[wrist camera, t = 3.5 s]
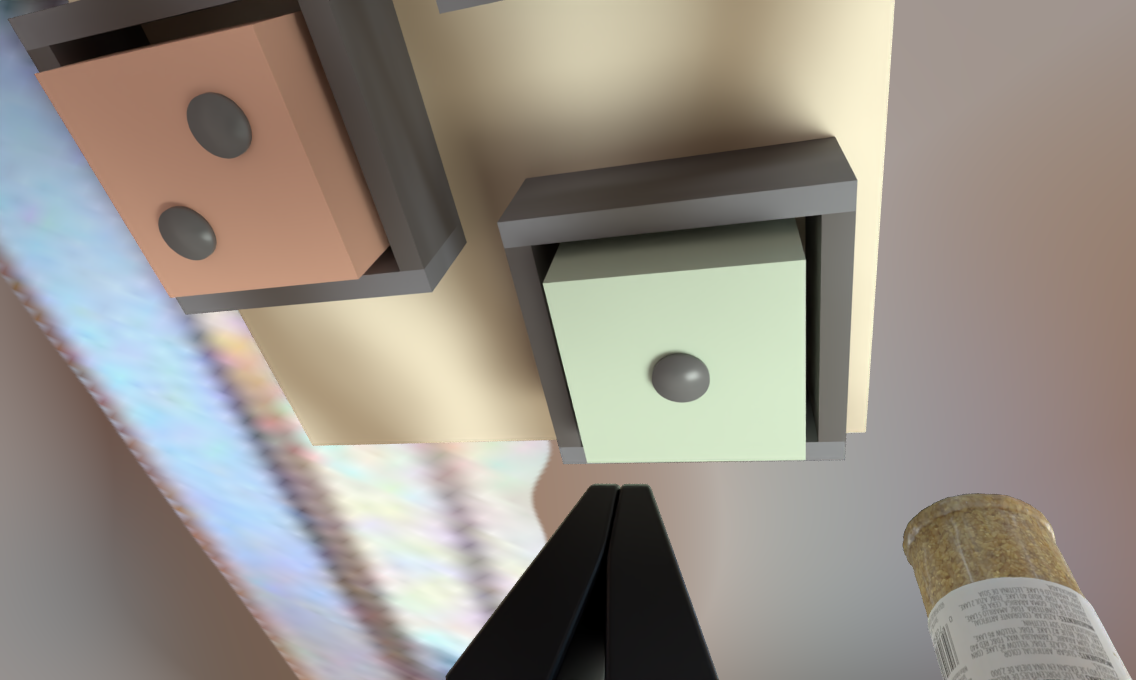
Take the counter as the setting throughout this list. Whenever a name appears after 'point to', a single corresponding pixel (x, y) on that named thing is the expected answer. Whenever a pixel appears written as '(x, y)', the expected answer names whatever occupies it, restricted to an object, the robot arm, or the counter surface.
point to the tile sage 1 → (685, 342)
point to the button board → (549, 186)
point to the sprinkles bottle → (1003, 595)
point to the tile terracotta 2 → (225, 157)
